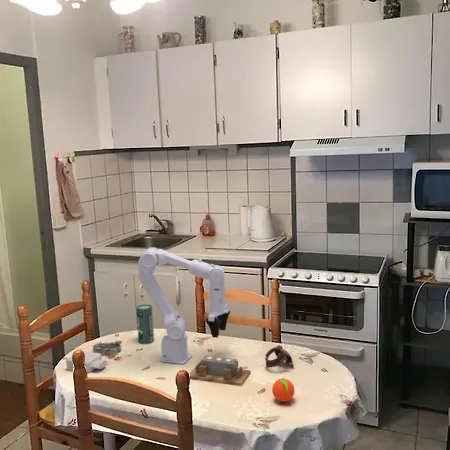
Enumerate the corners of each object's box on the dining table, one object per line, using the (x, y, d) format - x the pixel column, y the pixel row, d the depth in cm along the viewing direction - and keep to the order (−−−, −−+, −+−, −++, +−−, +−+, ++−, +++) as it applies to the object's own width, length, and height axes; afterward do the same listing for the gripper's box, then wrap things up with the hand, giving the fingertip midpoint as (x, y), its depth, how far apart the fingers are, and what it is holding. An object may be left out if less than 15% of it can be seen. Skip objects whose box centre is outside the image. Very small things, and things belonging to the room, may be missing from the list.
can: (141, 338, 218) (138, 304, 215) (155, 338, 217) (153, 304, 215) (137, 344, 212) (134, 309, 209) (151, 344, 211) (149, 309, 209)
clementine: (299, 405, 157) (298, 384, 156) (277, 409, 156) (276, 387, 155) (290, 393, 165) (289, 372, 164) (269, 396, 164) (269, 375, 163)
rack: (187, 378, 179) (186, 366, 178) (198, 366, 188) (197, 355, 187) (241, 385, 172) (241, 373, 171) (250, 373, 181) (250, 361, 180)
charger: (100, 377, 183) (66, 371, 189) (115, 366, 191) (83, 361, 197) (99, 364, 182) (65, 358, 188) (114, 354, 191) (82, 349, 197)
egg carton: (123, 350, 207) (123, 340, 206) (114, 357, 200) (113, 347, 199) (101, 347, 210) (100, 338, 209) (90, 354, 203) (89, 345, 202)
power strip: (201, 373, 180) (200, 359, 179) (205, 368, 183) (205, 354, 183) (233, 377, 176) (233, 363, 175) (237, 372, 179) (237, 358, 178)
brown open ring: (297, 373, 181) (286, 356, 178) (273, 383, 183) (262, 367, 180) (293, 351, 192) (283, 335, 189) (271, 361, 194) (260, 345, 191)
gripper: (220, 305, 183) (222, 341, 185) (234, 293, 196) (235, 327, 198) (202, 303, 185) (204, 339, 187) (216, 292, 199) (218, 326, 201)
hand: (218, 333), depth 193 cm, fingers open, 7 cm apart
